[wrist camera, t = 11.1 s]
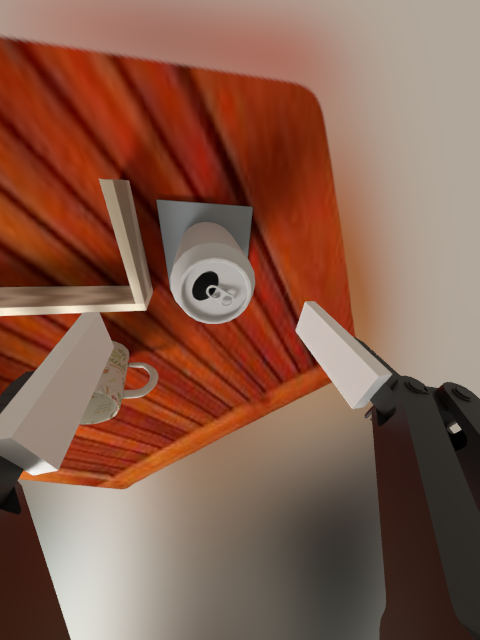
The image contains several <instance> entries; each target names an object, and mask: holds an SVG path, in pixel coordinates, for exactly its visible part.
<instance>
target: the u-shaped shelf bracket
mask: <svg viewBox="0 0 480 640" xmlns="http://www.w3.org/2000/svg"><path fill="white" fill-rule="evenodd" d="M99 181H100V184H101V188H102V191H103V195H104V198H105V201H106V205H107V208H108V212H109V215H110V219H111V222H112V225H113V229H114V232H115V236H116V239H117V242H118V246H119V249H120V253H121V256H122V259H123V263H124V266H125V270H126V273H127V277H128V280H129V283H130V286H63V287H0V316H12V315H39V314H65V313H83V312H118V311H145V310H147V307H148V304H149V302H150V299H151V296H152V294H153V288H152V284H151V279H150V274H149V270H148V265H147V261H146V256H145V251H144V247H143V242H142V238H141V233H140V228H139V224H138V219H137V215H136V210H135V206H134V201H133V196H132V192H131V187H130V183H129V180H118V179H99Z"/></svg>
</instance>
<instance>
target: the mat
mask: <svg viewBox="0 0 480 640" xmlns="http://www.w3.org/2000/svg"><path fill="white" fill-rule="evenodd" d="M156 201H157V208H158V214H159V220H160V227H161V233H162V240H163V246H164V252H165V259H166V265H167V272H168V278H169V284H170V290H171V281H170V276H171V272H172V269H173V265H174V261H175V257H176V253H177V249H178V246H179V242H180V239H181V236H182V235H183V234H184V233H185V231H186V230H187V229H188V228H190V227H191V226H193V225H194V224H196V223H201V222H211V223H216V224H218V225H220V226H222V227H224V228H225V229H226V230H227V231H228V232H229V233H230V234H231V235H232V236H233V238H234V239H235V241H236V242H237V244H238V245H239V247H240V248H241V250H242V251H243V253H244V254H245V256H246V257H247V259H248V249H249V239H250V230H251V220H252V210H253V207H249V206H236V205H223V204H210V203H197V202H184V201H171V200H158V199H157V200H156Z"/></svg>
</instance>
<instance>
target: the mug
mask: <svg viewBox="0 0 480 640" xmlns="http://www.w3.org/2000/svg"><path fill="white" fill-rule="evenodd" d="M112 343H113V345H114V349H113V351H112V353H111V355H110V357H109V360H108V362H107V364H106V366H105V368H104V371H103V373H102V375H101V377H100V379H99V382H98V384H97V386H96V388H95V390H94V393H93V395H92V397H91V399H90V401H89V404H88V406H87V408H86V410H85V412H84V415H83V417H82V419H81V421H80V423H79V424H94V423H100V422H103V421H106V420H109V419H111V418H112V417H114V416H115V415H116V414H117V413H118V411H119V409H120V405H121V401H122V399H123V398H138V397H142V396H144V395H146V394H147V393H149V392H150V391H151V390H152V389H153V388H154V387H155V385H156V383H157V381H158V373H157V371H156V369H155V368H153V367H152V366H150V365H149V364H146V363H142V362H135V363H128V361H129V351H128V349H127V348H126V347H125V346H124V345H122V344H120V343H118V342H115V341H112ZM127 367H141V368H144V369H146V370H147V371H148V372H149V374H150V380H149V382H148V383H147V384H146V385H145V386H144V387H143V388H141V389H138V390H124V384H125V378H126V372H127Z"/></svg>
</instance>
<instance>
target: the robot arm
mask: <svg viewBox="0 0 480 640" xmlns="http://www.w3.org/2000/svg"><path fill="white" fill-rule="evenodd" d="M296 332H297V334H298V335H299V337H300V338H301V339H302V341H303V342H304V343H305V345H306V346H307V348H308V349H309V350H310V352H311V353H312V354H313V356H314V357H315V359H316V360H317V361H318V363H319V364H320V365H321V367H322V368H323V370H324V371H325V372H326V374H327V375H328V376H329V378H330V379H331V381H332V382H333V383H334V385H335V386H336V387H337V389H338V390H339V392H340V393H341V394H342V396H343V397H344V398H345V400H346V401H347V402H348V404H349V405H350V406H351V408H352V409H356V408H361V407H364V406H365V405H366V404H367V403H368V402H369V401H371V402H372V403H373V404H374V405H373V406H372V407H371V408H370V410H369V411H368V412H367V413H366V414H365V418H368V417H369V415H371V414H372V418H371V419H370V420H371V421H372V425H373V435H374V449H375V460H376V461H375V462H376V472H377V473H376V475H377V486H378V499H379V512H380V524H381V537H382V550H383V562H384V575H385V586H386V608H385V611H384V613H383V615H382V618H381V622H380V640H480V399H479V398H478V397H477V396H476V395H475V394H474V393H472V392H471V391H469V390H468V389H467V388H465V387H463V386H461V385H458V384H455V383H452V382H446V383H444V384H443V385H442V386H440V387H439V388H434V387H427V386H425V385H424V384H423V383H421V382H420V381H418V380H416V379H414V378H412V377H408V376H400V375H399V374H398V373H397V372H396V371H394V370H393V369H392V368H391V367H390V366H389V365H388V364H387V363H386V362H384V361H383V360H382V359H381V358H380V357H379V356H378V355H376V353H374V351H372V350H370V348H369V347H368V346H367V345H366V344H365V343H364V342H362V341H360V340H359V339H357V338H355V337H352V336H351V335H350V334H349V333H348V332H347V331H346V330H345V329H344V328H343V327H342V326H340V325H339V324H338V323H337V322H336V321H335V320H334V319H333V318H332V317H331V316H330V315H329V314H328V313H327V312H325V311H324V310H323V309H322V308H321V307H320V306H319V305H318V304H317V303H316V302H315V301H307V302H305V303H304V306H303V310H302V313H301V316H300V319H299V322H298V325H297V328H296ZM113 349H114V345H113V343H112V341H111V338H110V336H109V334H108V331H107V329H106V327H105V324H104V322H103V320H102V318H101V315H100V313H99V312H83V313H82V315H81V316H80V317H79V318H78V319H77V321H76V322H75V323H74V324H73V326H72V327H71V328H70V329H69V330H68V332H67V333H66V334H65V335H64V337H63V338H62V339H61V340H60V342H59V343H58V344H57V345H56V346H55V348H54V349H53V350H52V351H51V353H50V354H49V355H48V356H47V357H46V359H45V360H44V361H43V362H42V364H41V365H40V366H39V367H38V368H37V370H36V371H30V372H26V373H24V374H23V375H22V376H20V377H19V378H17V379H16V380H15V381H13V382H12V383H11V384H10V385H9V386H8V387H7V388H6V390H5V391H4V392H3V393H2V394H1V397H0V640H71V639H70V636H69V633H68V630H67V626H66V623H65V620H64V617H63V614H62V611H61V608H60V604H59V601H58V598H57V595H56V592H55V589H54V586H53V582H52V580H51V576H50V573H49V570H48V567H47V564H46V561H45V558H44V554H43V551H42V548H41V545H40V542H39V539H38V536H37V532H36V529H35V526H34V523H33V520H32V517H31V514H30V511H29V508H28V505H27V502H26V498H25V495H24V492H23V489H22V486H21V485H20V483H19V482H18V481H17V480H18V479H19V477H20V475H21V473H22V472H23V470H24V471H26V472H28V473H29V474H31V475H38V474H43V473H48V472H53V471H57V470H59V467H60V465H61V463H62V461H63V459H64V456H65V454H66V452H67V450H68V448H69V445H70V443H71V441H72V439H73V437H74V434H75V432H76V430H77V428H78V426H79V423H80V421H81V419H82V417H83V415H84V412H85V410H86V408H87V406H88V404H89V401H90V399H91V397H92V395H93V393H94V390H95V388H96V386H97V384H98V382H99V379H100V377H101V375H102V373H103V371H104V368H105V366H106V364H107V362H108V360H109V357H110V355H111V353H112V351H113ZM456 423H458V425H459V426H460V427H461V429H462V430H460V431H459V432H457V433H455V434H454V433H453V432H452V431H451V430H450V428H449V427H451V426H452V425H454V424H456Z"/></svg>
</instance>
